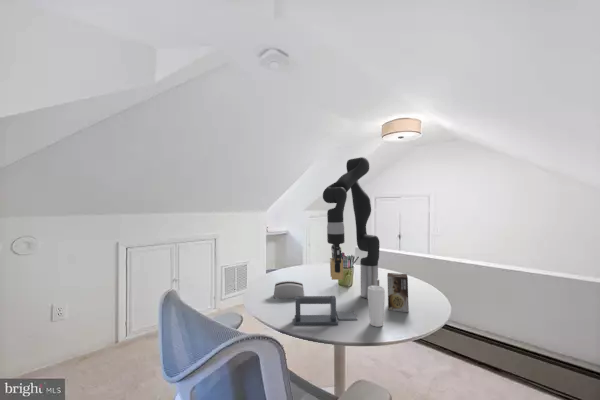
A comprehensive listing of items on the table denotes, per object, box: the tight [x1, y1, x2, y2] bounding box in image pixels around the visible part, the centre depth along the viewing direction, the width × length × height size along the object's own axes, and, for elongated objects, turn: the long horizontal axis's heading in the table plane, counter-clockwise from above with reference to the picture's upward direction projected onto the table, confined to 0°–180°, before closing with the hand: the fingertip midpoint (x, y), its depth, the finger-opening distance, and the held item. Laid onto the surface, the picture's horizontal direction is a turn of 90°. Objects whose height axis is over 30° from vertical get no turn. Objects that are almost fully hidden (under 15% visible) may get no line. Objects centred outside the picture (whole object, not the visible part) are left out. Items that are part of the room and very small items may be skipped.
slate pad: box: [336, 310, 358, 321], centre depth 114 cm, size 8×8×1 cm
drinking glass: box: [367, 285, 386, 328], centre depth 106 cm, size 7×7×15 cm
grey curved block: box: [273, 280, 305, 299], centre depth 139 cm, size 17×5×10 cm, turn 91°
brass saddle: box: [329, 257, 344, 281], centre depth 113 cm, size 5×5×8 cm
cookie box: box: [386, 272, 410, 313], centre depth 122 cm, size 9×6×16 cm
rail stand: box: [293, 295, 339, 326], centre depth 109 cm, size 18×7×10 cm, turn 90°
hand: (336, 270), depth 113 cm, fingers closed on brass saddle, 5 cm apart
